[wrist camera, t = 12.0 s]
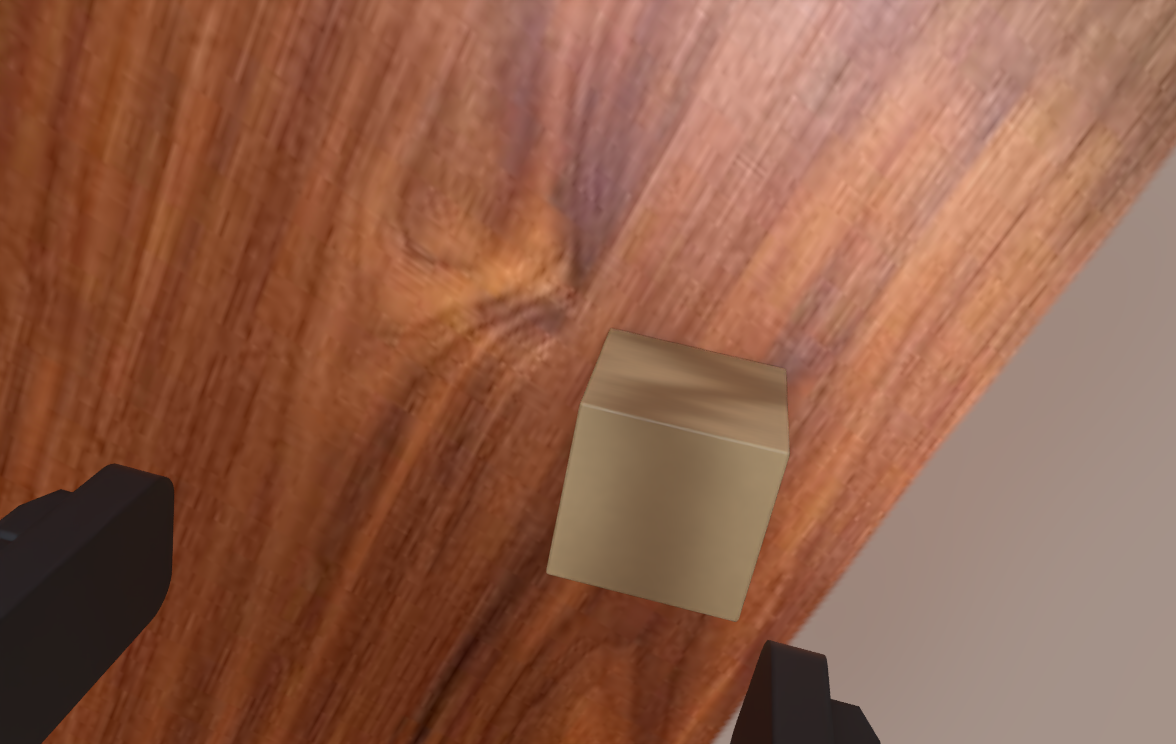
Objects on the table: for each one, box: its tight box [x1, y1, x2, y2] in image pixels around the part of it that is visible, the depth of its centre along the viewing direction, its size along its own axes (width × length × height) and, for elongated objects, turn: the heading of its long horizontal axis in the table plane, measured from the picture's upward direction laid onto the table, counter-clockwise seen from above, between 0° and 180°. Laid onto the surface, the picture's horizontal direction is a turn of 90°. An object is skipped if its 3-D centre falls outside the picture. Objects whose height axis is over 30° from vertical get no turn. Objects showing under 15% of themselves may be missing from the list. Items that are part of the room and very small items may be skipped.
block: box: [546, 328, 790, 622], centre depth 27 cm, size 5×5×5 cm
